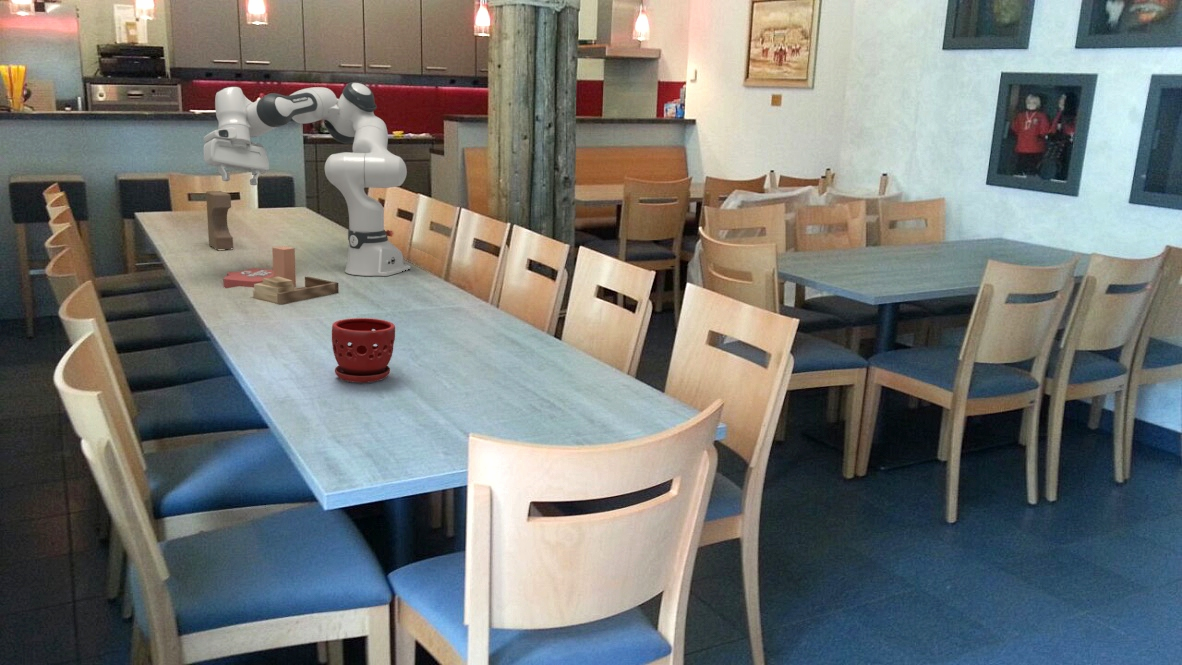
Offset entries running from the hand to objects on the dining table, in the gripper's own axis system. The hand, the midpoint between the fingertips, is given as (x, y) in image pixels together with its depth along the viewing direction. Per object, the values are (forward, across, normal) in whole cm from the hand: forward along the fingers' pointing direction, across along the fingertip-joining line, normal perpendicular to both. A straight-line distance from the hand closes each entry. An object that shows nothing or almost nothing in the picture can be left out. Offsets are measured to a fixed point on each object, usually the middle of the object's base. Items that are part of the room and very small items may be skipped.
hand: (240, 182), depth 281 cm
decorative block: (+2, -31, -60) cm, 68 cm away
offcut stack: (+40, +4, +15) cm, 43 cm away
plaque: (+29, -5, -9) cm, 31 cm away
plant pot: (+73, +31, +78) cm, 111 cm away
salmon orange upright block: (+33, -7, +5) cm, 35 cm away
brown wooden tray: (+39, -3, +15) cm, 42 cm away
